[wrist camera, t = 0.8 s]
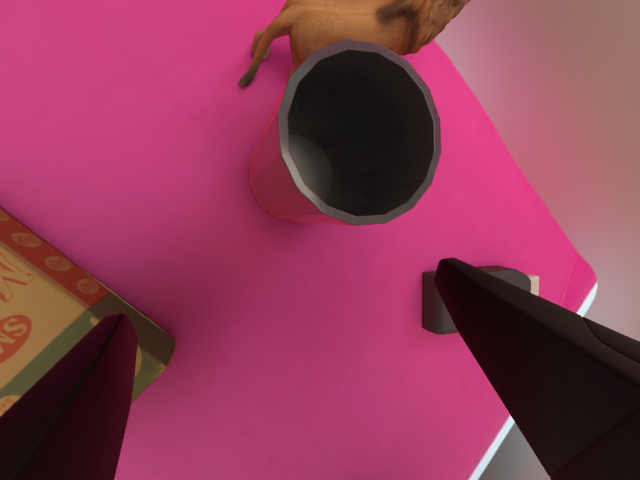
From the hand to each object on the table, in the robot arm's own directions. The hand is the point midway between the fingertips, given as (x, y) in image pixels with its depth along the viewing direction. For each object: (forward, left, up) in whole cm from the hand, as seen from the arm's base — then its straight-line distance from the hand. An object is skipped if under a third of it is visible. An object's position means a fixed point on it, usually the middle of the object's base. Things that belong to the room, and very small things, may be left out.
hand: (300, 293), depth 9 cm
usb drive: (+2, -22, -15) cm, 27 cm away
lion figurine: (+16, -1, -15) cm, 22 cm away
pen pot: (+6, -1, -15) cm, 16 cm away
